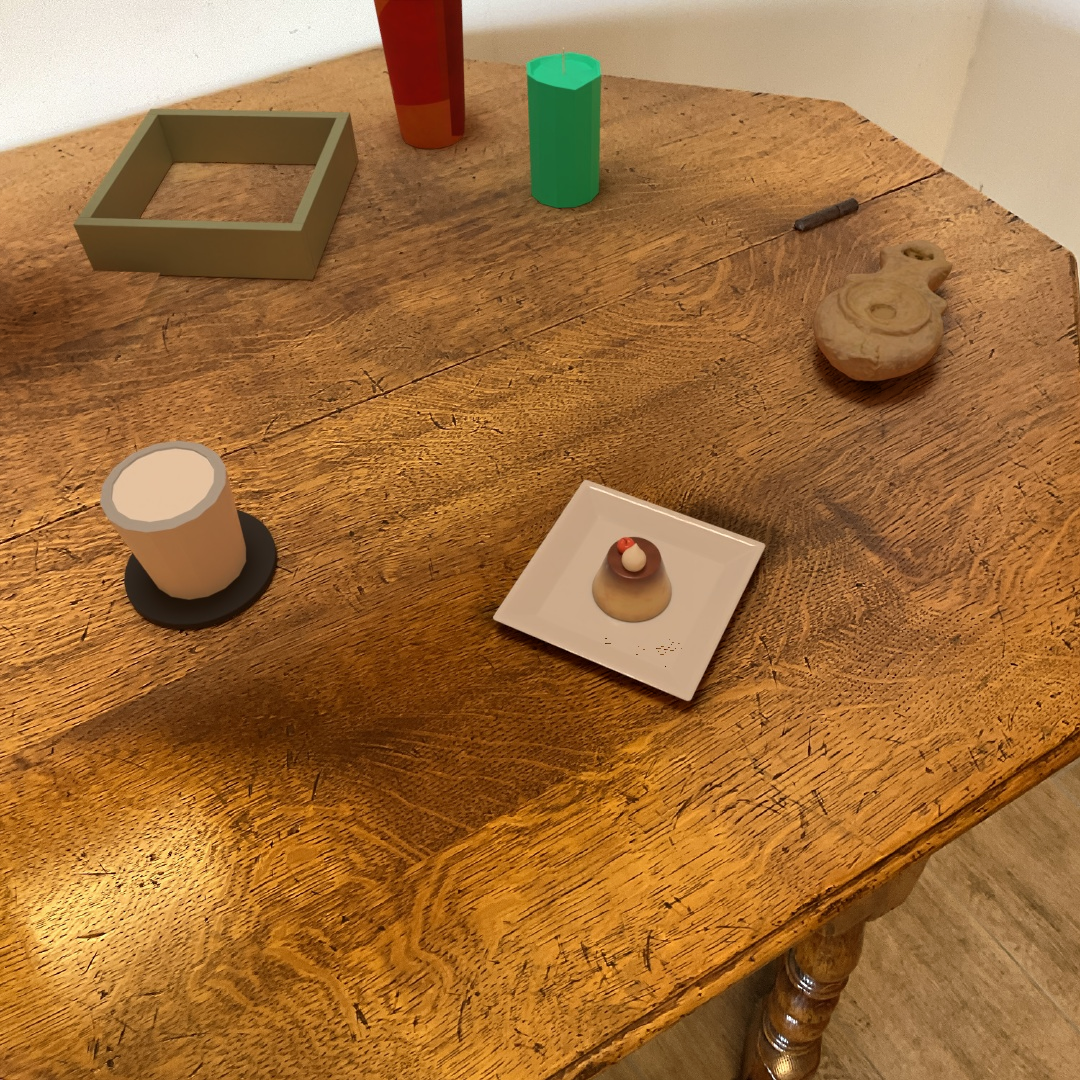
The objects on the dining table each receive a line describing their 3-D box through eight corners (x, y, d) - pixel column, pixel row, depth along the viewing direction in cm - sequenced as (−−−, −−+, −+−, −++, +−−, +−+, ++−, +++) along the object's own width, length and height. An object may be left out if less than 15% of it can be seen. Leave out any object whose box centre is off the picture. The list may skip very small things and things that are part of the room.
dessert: (584, 490, 64) (585, 437, 60) (763, 555, 60) (776, 502, 56) (492, 629, 57) (487, 579, 54) (687, 712, 54) (696, 664, 50)
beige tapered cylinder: (120, 562, 60) (75, 483, 55) (217, 501, 63) (183, 421, 58) (180, 628, 57) (139, 551, 52) (279, 561, 60) (250, 482, 55)
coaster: (105, 625, 58) (101, 619, 58) (156, 509, 64) (152, 503, 63) (255, 634, 57) (252, 628, 57) (293, 516, 63) (291, 510, 63)
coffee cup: (443, 101, 97) (425, -70, 85) (495, 133, 93) (484, -42, 81) (370, 131, 94) (342, -43, 82) (421, 166, 89) (398, -12, 78)
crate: (94, 273, 80) (72, 224, 77) (166, 155, 92) (150, 108, 88) (312, 280, 79) (300, 230, 76) (358, 159, 90) (350, 111, 87)
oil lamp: (928, 280, 77) (947, 222, 73) (973, 407, 68) (997, 349, 64) (789, 279, 77) (800, 223, 74) (814, 406, 68) (829, 349, 64)
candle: (522, 204, 85) (516, 62, 76) (539, 167, 89) (535, 28, 79) (591, 211, 84) (593, 69, 75) (605, 173, 88) (609, 33, 78)
